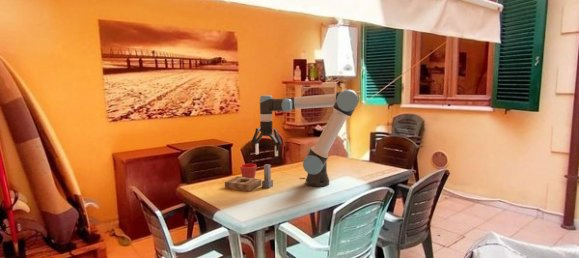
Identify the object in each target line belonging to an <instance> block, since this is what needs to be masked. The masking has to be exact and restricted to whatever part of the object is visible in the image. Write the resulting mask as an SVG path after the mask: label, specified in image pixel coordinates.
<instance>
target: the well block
mask: <svg viewBox="0 0 579 258" xmlns="http://www.w3.org/2000/svg"><path fill="white" fill-rule="evenodd" d="M259 187H262V179H260V178H256V177H255V178H247V177H242V176H235V177H233V178H231V179H228V180H226V181H224V189H228V190H234V191H235V190H236V191H240V192H241V191H242V192H252V191H253V190H255V189H257V188H259Z"/></svg>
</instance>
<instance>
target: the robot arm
mask: <svg viewBox="0 0 579 258" xmlns="http://www.w3.org/2000/svg"><path fill="white" fill-rule="evenodd" d="M359 103H360V96H359V93H358V92H357V91H355V90H353V89H343V90H342V91H335V93H330V94H329V93H328V94H317V95H308V96H307V95H306V96H293V97H284V98H273V96H272V95H270V94H269V95H267V94H264V95H263V94H262V95H260V96H259V120H260V122H259V127H256V128H255V132H254V135H253V137H252V139H251V141H250V142H251V143H252V144H254V145H253V148H254V149H255V151H254V152H255V155H259V154H260V149H259V146H260V145H259V144H260V143H259V142H260V140H262V138H263V137H269V138H270V139H271V140H272V142H273V143H274V144H275V145H274V157H278V156H279V151H280V146H281V145H282V144H283V141H282V140H281V137H280V135H279V132H278V129H277V128H275V129H274V128H273V127H274V126H273V112H285V113H286V112H292V110H302V109H314V108H316V109H317V108H328V107H329V108H331V107H332V109H333V112H332V114H331V115H330V117H329V119H328V121H327V122H326V125H325V127H324V128H323V131H322V132H321V134H320V136H319V138H318V140H317V141H316V144H315V145H314V146H312V147H309V148H308V150H307V154H306V156H305V157H304V159H303V162H302V167H303V168H302V169H303V170H304V171H305V172H306V173H307V175H306V178H305V184H306V185H307V186H309V187H315V188H316V187H317V188H319V187H326V186H329V185H330V179H329V175H328V171H327V166H328V163H327V161H328V159H329V152H330V149H331V147H332V146H333V145H334V143H335V140H336V139H337V137H338V135H339V133H340V131H341V129H342V128H343V126H344V124H345V122H346V120H347V119H348V118H351V117H352V115H353V113H354V112H355V110H356V108H357V107H358V106H359ZM259 133H260V134H259Z"/></svg>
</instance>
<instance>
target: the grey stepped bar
mask: <svg viewBox="0 0 579 258" xmlns="http://www.w3.org/2000/svg"><path fill="white" fill-rule="evenodd" d="M271 167H272V166H271V164H268V163H266V164H264V165H263V180H261V188H264V189H271V188H272V187H274V180H273V179H271V178H272V177H271V175H272V172H271V171H272V170H271Z"/></svg>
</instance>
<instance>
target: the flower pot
mask: <svg viewBox="0 0 579 258" xmlns="http://www.w3.org/2000/svg"><path fill="white" fill-rule="evenodd" d="M239 167H240V169H239V170H240V172H241V177H247V178H255V179H256V173H257V164H256V163H243V164H241V165H239Z"/></svg>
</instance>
